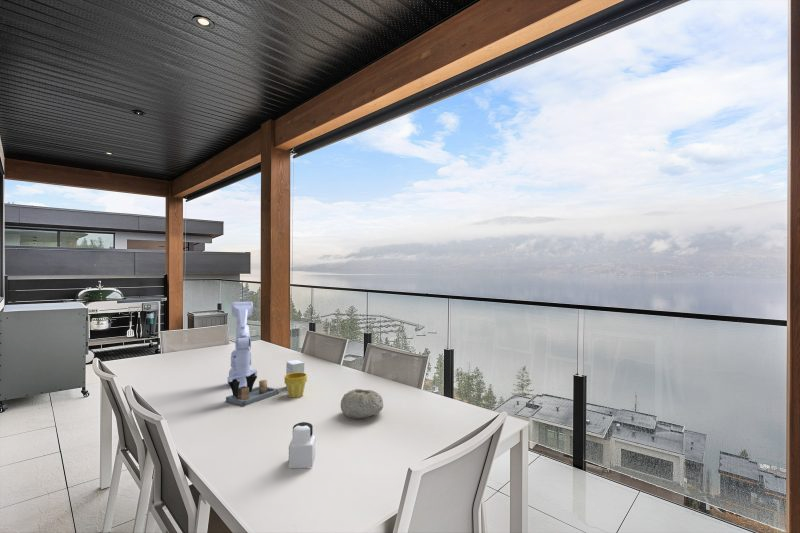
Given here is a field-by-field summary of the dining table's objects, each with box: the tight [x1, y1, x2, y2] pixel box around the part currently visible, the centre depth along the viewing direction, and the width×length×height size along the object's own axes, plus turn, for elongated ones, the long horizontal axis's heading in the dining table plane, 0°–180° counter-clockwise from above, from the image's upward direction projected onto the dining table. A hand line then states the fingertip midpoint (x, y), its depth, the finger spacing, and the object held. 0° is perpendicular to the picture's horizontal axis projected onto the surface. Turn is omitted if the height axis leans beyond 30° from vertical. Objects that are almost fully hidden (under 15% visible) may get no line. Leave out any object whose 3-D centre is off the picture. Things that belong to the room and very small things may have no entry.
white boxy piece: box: [288, 421, 317, 469], centre depth 121 cm, size 7×7×12 cm
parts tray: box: [225, 385, 280, 407], centre depth 180 cm, size 12×20×2 cm, turn 151°
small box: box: [285, 359, 305, 388], centre depth 196 cm, size 8×6×13 cm
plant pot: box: [284, 372, 308, 399], centre depth 184 cm, size 10×10×10 cm
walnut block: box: [236, 386, 249, 401], centre depth 175 cm, size 4×4×6 cm
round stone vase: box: [340, 388, 384, 419], centre depth 160 cm, size 18×18×10 cm
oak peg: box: [258, 379, 268, 394], centre depth 186 cm, size 4×4×6 cm
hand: (242, 393), depth 175 cm, fingers open, 7 cm apart
